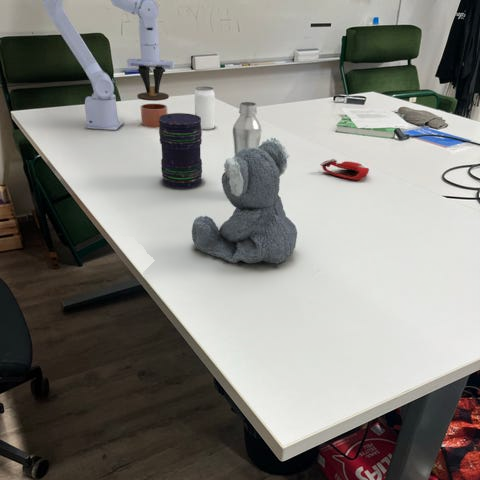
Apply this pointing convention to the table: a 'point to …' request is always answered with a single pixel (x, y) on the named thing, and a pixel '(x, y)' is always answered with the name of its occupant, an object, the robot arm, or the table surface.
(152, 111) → the cup
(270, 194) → the koala plush
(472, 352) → the table surface
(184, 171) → the storage jar
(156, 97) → the wooden lid with knob
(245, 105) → the silver metal bottle
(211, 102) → the can
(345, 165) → the tracker holder
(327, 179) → the table surface
